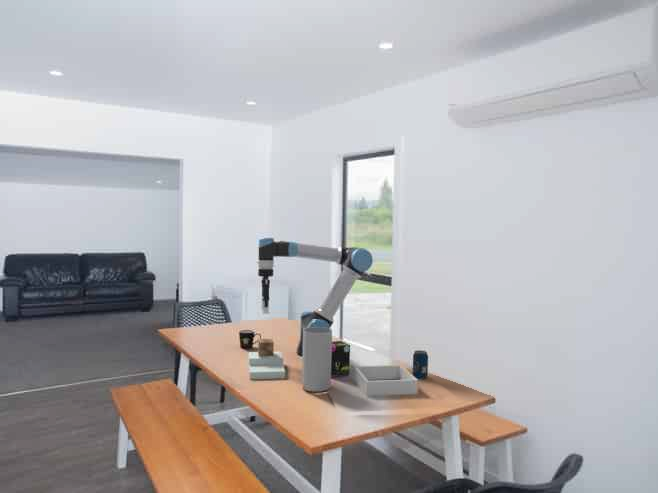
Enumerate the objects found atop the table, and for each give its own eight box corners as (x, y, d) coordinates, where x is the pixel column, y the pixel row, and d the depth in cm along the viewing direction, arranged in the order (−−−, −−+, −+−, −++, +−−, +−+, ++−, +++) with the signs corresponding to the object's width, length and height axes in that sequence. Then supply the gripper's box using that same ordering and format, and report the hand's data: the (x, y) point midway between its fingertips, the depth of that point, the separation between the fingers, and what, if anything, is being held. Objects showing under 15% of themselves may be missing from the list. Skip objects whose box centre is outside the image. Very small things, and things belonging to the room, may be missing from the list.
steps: (280, 364, 242) (280, 351, 241) (285, 378, 219) (285, 364, 219) (248, 364, 239) (248, 352, 238) (249, 379, 216) (249, 365, 216)
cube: (272, 352, 238) (272, 338, 238) (273, 356, 231) (273, 342, 231) (257, 353, 237) (258, 339, 236) (258, 357, 230) (258, 342, 230)
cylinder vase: (320, 394, 199) (322, 334, 198) (295, 388, 206) (297, 330, 205) (336, 386, 210) (337, 329, 209) (312, 381, 216) (313, 325, 215)
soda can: (409, 375, 228) (410, 350, 228) (422, 374, 231) (423, 349, 230) (417, 380, 222) (418, 354, 221) (430, 378, 224) (431, 353, 224)
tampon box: (329, 378, 221) (330, 346, 220) (320, 372, 229) (321, 342, 229) (349, 375, 226) (350, 344, 225) (340, 370, 234) (341, 340, 234)
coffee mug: (235, 349, 267) (235, 331, 267) (243, 346, 275) (244, 329, 275) (253, 352, 263) (254, 334, 263) (261, 348, 271) (262, 331, 271)
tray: (399, 377, 224) (400, 365, 224) (417, 394, 203) (418, 380, 202) (353, 379, 220) (353, 366, 220) (366, 396, 198) (366, 381, 198)
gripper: (257, 266, 253) (256, 307, 253) (259, 270, 229) (258, 315, 230) (271, 266, 254) (270, 307, 255) (275, 270, 231) (274, 315, 232)
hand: (265, 311), depth 243 cm, fingers open, 11 cm apart
